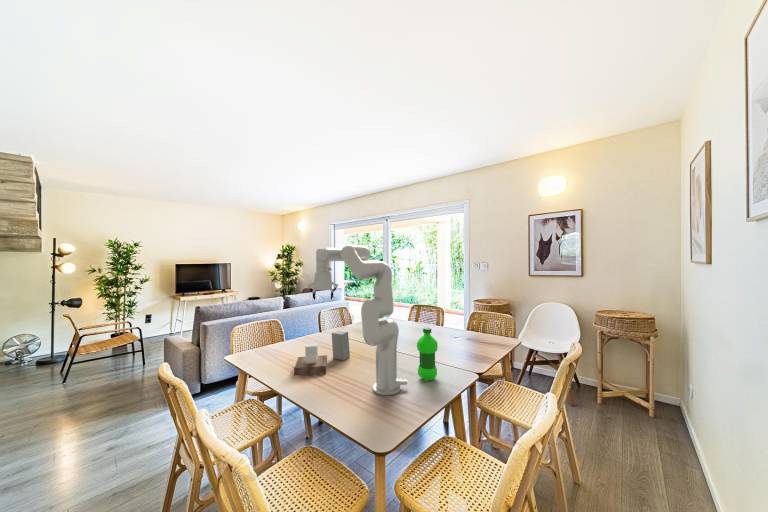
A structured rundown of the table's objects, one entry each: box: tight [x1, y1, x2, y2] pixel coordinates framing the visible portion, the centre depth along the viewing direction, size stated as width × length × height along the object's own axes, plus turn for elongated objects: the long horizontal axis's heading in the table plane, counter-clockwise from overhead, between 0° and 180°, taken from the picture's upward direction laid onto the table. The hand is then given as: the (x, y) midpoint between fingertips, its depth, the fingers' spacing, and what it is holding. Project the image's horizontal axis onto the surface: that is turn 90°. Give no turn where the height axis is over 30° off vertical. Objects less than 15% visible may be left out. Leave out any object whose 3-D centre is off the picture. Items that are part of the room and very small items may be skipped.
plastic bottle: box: [416, 327, 439, 382], centre depth 140 cm, size 10×10×25 cm
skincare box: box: [331, 330, 351, 361], centre depth 169 cm, size 8×7×16 cm
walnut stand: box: [293, 354, 328, 376], centre depth 153 cm, size 16×16×4 cm
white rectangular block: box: [304, 342, 319, 364], centre depth 153 cm, size 6×6×9 cm
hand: (323, 299), depth 163 cm, fingers open, 9 cm apart
